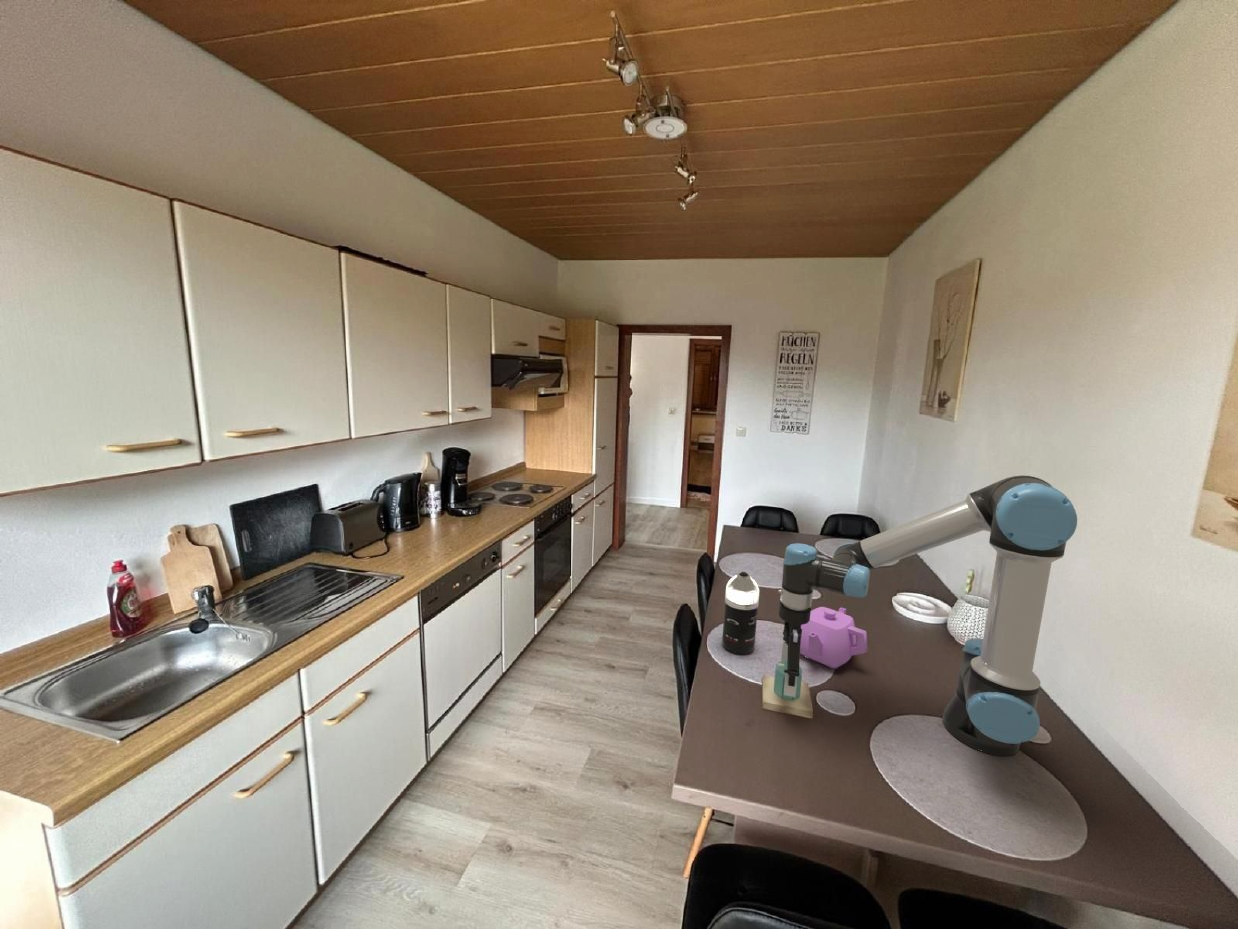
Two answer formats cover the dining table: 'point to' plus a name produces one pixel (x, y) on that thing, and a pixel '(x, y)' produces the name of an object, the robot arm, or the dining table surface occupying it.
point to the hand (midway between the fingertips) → (787, 679)
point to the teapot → (831, 637)
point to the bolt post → (794, 707)
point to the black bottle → (740, 614)
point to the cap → (780, 681)
